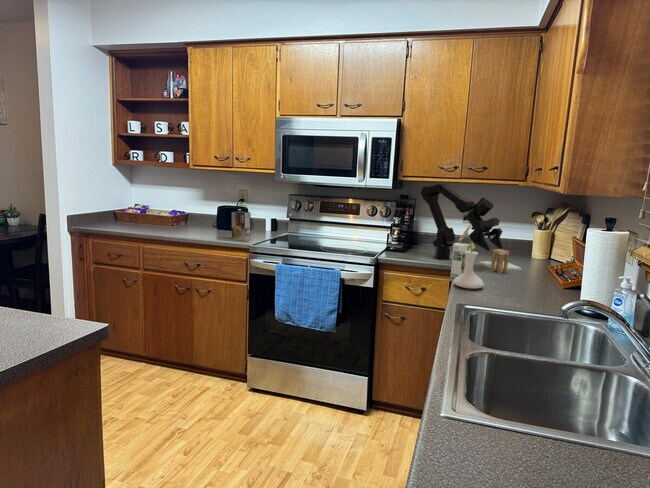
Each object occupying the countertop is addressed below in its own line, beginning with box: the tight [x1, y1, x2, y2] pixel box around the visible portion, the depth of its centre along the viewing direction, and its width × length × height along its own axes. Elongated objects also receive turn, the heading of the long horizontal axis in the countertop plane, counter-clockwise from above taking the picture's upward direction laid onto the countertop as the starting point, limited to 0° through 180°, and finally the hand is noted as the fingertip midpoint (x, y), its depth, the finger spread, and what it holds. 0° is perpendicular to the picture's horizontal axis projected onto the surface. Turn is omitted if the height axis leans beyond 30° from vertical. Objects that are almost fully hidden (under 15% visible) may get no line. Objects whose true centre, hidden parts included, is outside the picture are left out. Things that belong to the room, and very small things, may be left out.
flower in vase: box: [453, 223, 485, 290], centre depth 176 cm, size 13×11×25 cm
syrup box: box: [450, 242, 471, 279], centre depth 193 cm, size 6×6×14 cm
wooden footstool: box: [490, 248, 510, 275], centre depth 207 cm, size 5×5×10 cm
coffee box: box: [231, 211, 251, 242], centre depth 265 cm, size 9×6×16 cm
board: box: [478, 260, 523, 271], centre depth 220 cm, size 14×14×1 cm
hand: (495, 249), depth 208 cm, fingers open, 9 cm apart
